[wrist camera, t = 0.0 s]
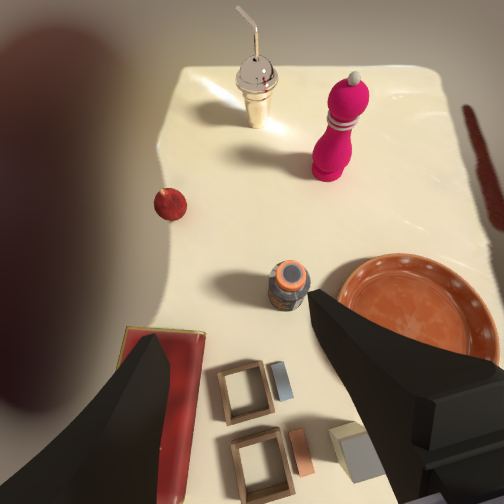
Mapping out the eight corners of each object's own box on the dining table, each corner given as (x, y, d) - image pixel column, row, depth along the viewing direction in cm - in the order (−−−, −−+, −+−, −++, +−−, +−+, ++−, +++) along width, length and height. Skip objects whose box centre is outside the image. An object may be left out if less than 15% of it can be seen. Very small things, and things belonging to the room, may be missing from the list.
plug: (366, 454, 36) (387, 473, 30) (338, 463, 36) (353, 483, 30) (355, 421, 38) (372, 432, 32) (328, 429, 38) (340, 441, 31)
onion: (197, 210, 53) (185, 185, 46) (179, 232, 52) (165, 210, 44) (173, 198, 55) (159, 172, 48) (156, 220, 53) (138, 196, 46)
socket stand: (316, 478, 36) (319, 486, 33) (244, 501, 35) (242, 510, 33) (281, 355, 42) (282, 354, 40) (219, 372, 41) (217, 373, 39)
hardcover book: (207, 334, 44) (202, 331, 40) (187, 496, 36) (177, 512, 32) (137, 329, 45) (125, 326, 41) (102, 486, 37) (82, 500, 33)
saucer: (379, 236, 49) (388, 227, 46) (507, 321, 42) (528, 317, 39) (302, 333, 43) (305, 330, 40) (436, 449, 36) (454, 458, 33)
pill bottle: (261, 294, 46) (259, 272, 36) (285, 271, 47) (290, 244, 37) (286, 319, 44) (292, 305, 34) (310, 295, 45) (323, 273, 35)
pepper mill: (325, 190, 54) (355, 97, 35) (302, 167, 56) (318, 70, 38) (352, 172, 55) (394, 74, 37) (328, 151, 58) (356, 49, 39)
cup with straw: (242, 137, 60) (232, 37, 42) (237, 110, 64) (225, 6, 46) (280, 131, 61) (285, 29, 42) (272, 104, 64) (274, -1, 46)
